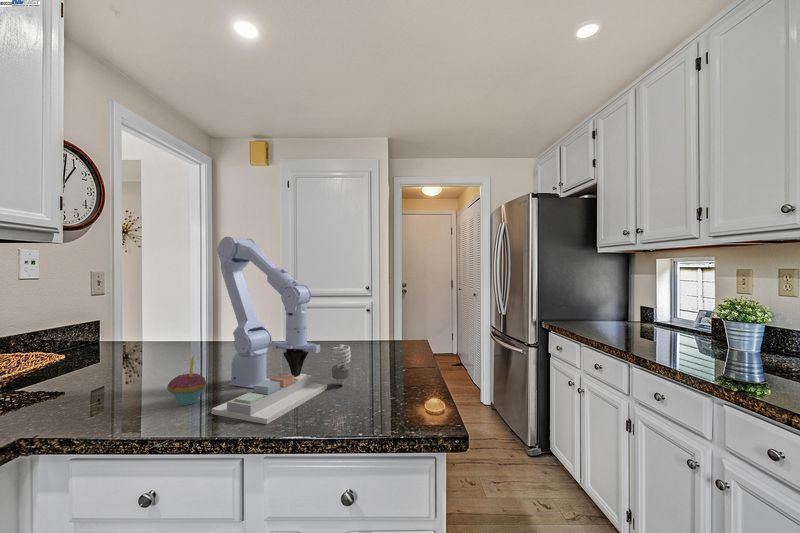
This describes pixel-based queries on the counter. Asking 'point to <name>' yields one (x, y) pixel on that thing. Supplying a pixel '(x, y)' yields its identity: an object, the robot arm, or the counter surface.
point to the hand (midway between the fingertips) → (296, 376)
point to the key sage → (249, 398)
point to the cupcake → (187, 387)
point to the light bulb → (341, 364)
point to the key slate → (266, 387)
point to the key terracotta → (283, 380)
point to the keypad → (272, 402)
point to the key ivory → (300, 377)
